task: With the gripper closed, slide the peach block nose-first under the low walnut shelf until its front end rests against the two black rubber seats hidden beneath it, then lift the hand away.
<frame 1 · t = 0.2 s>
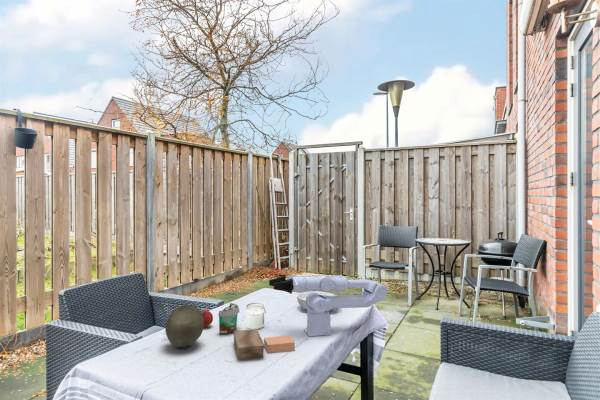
hand: (271, 284, 145), 21 cm above the table, tool horizontal, fingers open, 7 cm apart
peach block: (279, 348, 134), on the table
cantaloupe: (184, 347, 134), on the table
serving bowl: (317, 310, 183), on the table
onion: (205, 327, 154), on the table
food container: (231, 331, 150), on the table
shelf: (248, 351, 131), on the table
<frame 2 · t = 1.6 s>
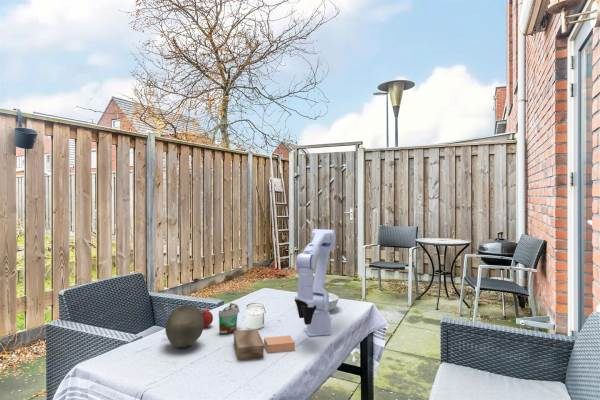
hand: (304, 320, 137), 9 cm above the table, tool pointing down, fingers open, 7 cm apart
nothing on the table moved.
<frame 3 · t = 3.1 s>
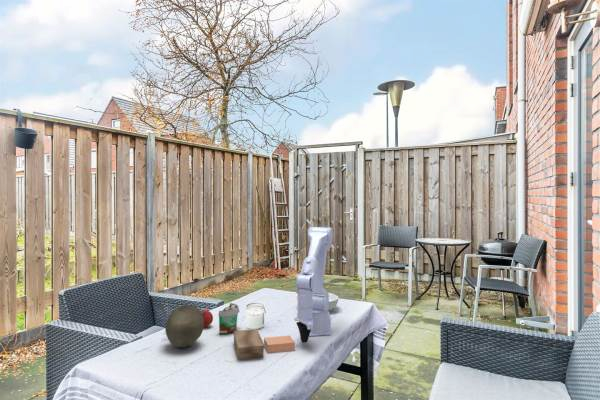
hand: (304, 341, 137), 1 cm above the table, tool pointing down, fingers closed
nothing on the table moved.
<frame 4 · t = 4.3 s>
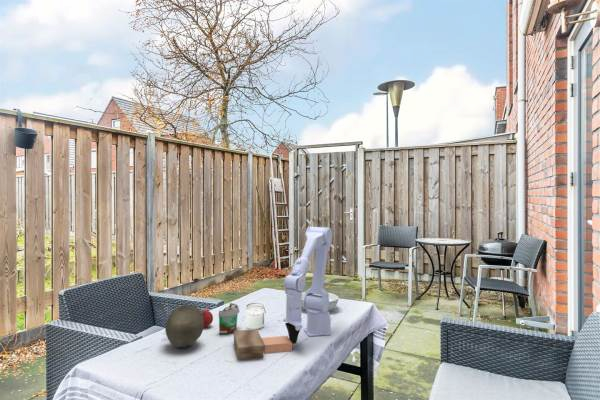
hand: (293, 343, 136), 1 cm above the table, tool pointing down, fingers closed, pressing on peach block
peach block: (276, 348, 134), on the table, touching gripper
everything else where it was.
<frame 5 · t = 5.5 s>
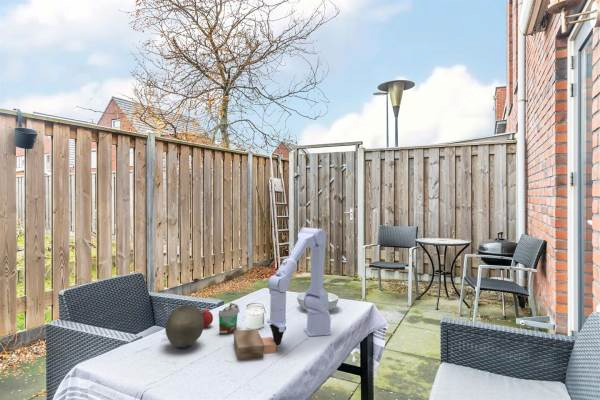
hand: (277, 344, 134), 1 cm above the table, tool pointing down, fingers closed, pressing on peach block
peach block: (260, 349, 132), on the table, touching gripper, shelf
everything else where it was.
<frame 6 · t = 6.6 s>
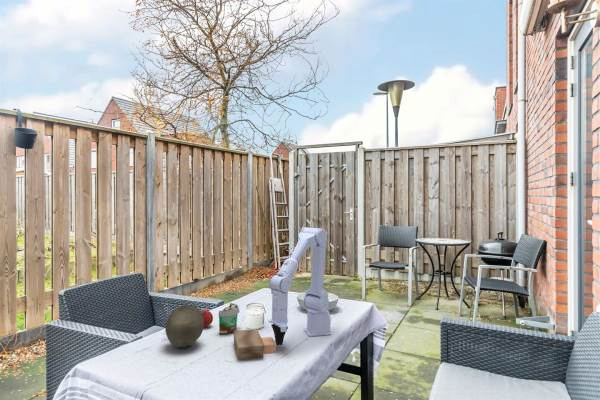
hand: (279, 344, 134), 1 cm above the table, tool pointing down, fingers closed
peach block: (260, 349, 132), on the table
everything else where it was.
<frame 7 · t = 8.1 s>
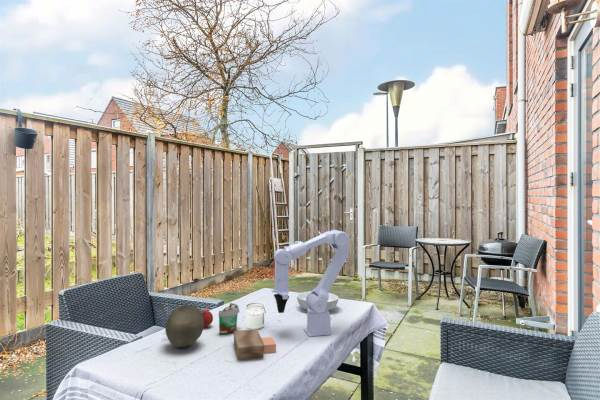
hand: (280, 312, 147), 9 cm above the table, tool pointing down, fingers closed
nothing on the table moved.
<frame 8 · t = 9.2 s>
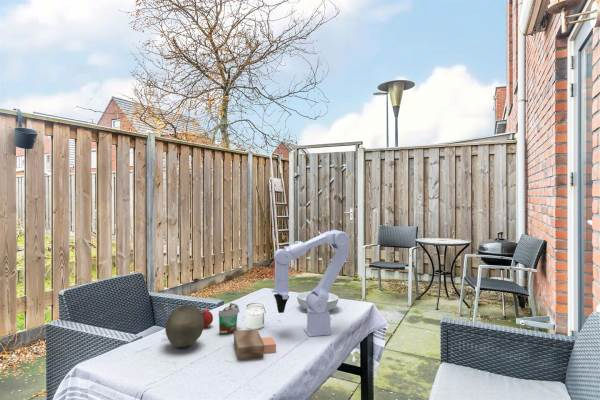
hand: (280, 312, 147), 9 cm above the table, tool pointing down, fingers closed
nothing on the table moved.
at the end: peach block 0.2 cm from the target spot on the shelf, point 0.0 cm above the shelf's base; peach block tilted 0°; the gripper is holding nothing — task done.
